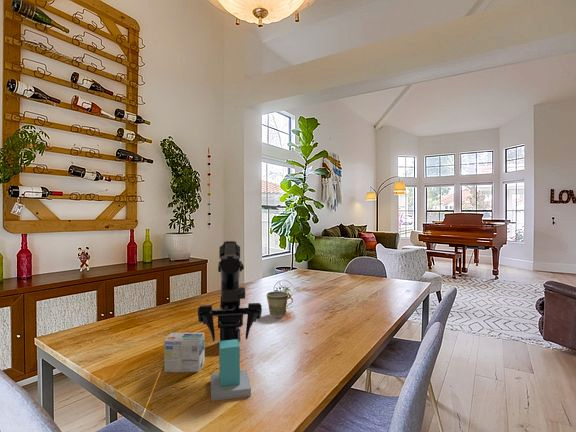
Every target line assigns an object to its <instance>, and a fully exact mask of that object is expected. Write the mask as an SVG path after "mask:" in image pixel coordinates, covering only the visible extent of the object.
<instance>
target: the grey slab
mask: <svg viewBox="0 0 576 432" xmlns="http://www.w3.org/2000/svg"><path fill="white" fill-rule="evenodd" d="M251 396H252V388H251V383H250V378H249V375H248V371H247V369H242V370H241V369H240V384H237V385H230V386H223V387H220V378H219V372H213V373H210V401H211V402H213V401H221V400H222V401H223V400H231V399H238V398H244V397H251Z"/></svg>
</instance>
